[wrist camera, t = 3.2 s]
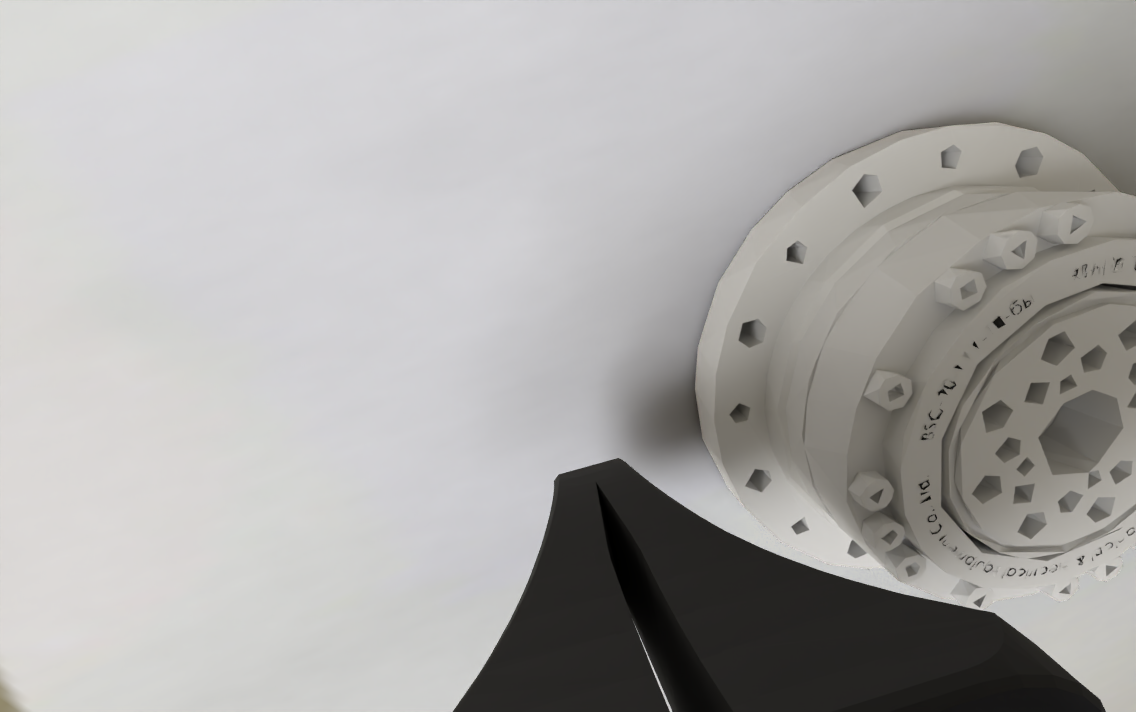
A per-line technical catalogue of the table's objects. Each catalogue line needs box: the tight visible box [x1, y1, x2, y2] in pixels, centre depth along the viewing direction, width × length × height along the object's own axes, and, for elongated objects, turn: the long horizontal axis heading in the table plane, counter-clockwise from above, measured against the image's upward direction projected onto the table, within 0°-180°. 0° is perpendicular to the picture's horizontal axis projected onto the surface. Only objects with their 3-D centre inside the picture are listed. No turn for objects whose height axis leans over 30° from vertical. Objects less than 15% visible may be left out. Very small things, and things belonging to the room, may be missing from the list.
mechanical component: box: [695, 122, 1136, 611], centre depth 11 cm, size 10×4×10 cm
